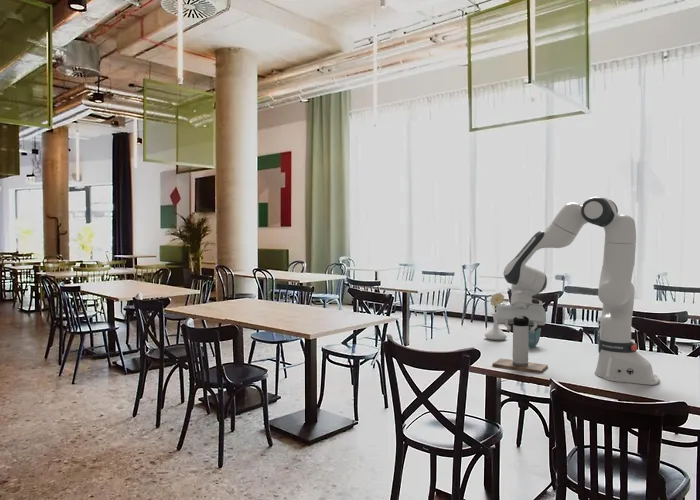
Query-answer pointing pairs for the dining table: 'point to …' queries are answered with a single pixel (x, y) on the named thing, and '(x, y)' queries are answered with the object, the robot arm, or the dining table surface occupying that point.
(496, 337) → the flower in vase
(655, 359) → the dining table surface
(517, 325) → the travel mug
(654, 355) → the dining table surface
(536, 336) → the flower pot
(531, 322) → the robot arm
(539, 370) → the walnut board
